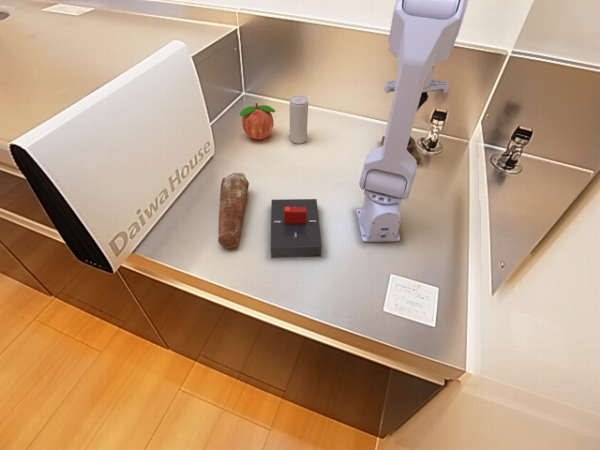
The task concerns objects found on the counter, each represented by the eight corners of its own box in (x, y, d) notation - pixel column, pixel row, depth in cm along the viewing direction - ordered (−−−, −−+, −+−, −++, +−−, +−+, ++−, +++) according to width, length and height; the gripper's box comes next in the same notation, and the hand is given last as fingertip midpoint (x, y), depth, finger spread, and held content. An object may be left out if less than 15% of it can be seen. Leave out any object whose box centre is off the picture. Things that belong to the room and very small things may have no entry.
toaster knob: (305, 219, 77) (306, 206, 75) (306, 223, 76) (306, 210, 74) (284, 219, 77) (284, 206, 74) (284, 224, 76) (284, 211, 74)
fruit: (242, 128, 107) (238, 95, 99) (275, 127, 108) (273, 94, 100) (242, 145, 101) (238, 112, 94) (277, 143, 102) (276, 110, 94)
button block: (418, 164, 96) (422, 151, 93) (388, 165, 96) (391, 152, 93) (409, 143, 103) (412, 130, 100) (381, 143, 103) (383, 130, 100)
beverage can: (286, 141, 102) (286, 101, 94) (294, 133, 105) (295, 93, 97) (302, 146, 101) (303, 105, 92) (309, 137, 104) (311, 97, 95)
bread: (250, 190, 88) (248, 171, 84) (241, 251, 75) (238, 233, 71) (223, 189, 88) (220, 170, 84) (209, 251, 75) (205, 232, 71)
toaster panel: (320, 256, 74) (321, 246, 72) (271, 257, 74) (270, 247, 72) (315, 208, 84) (316, 198, 82) (272, 209, 84) (271, 198, 81)
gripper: (448, 56, 85) (432, 110, 95) (386, 56, 85) (376, 110, 94) (458, 70, 80) (440, 125, 90) (392, 69, 80) (381, 125, 90)
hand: (408, 118), depth 92 cm, fingers closed
